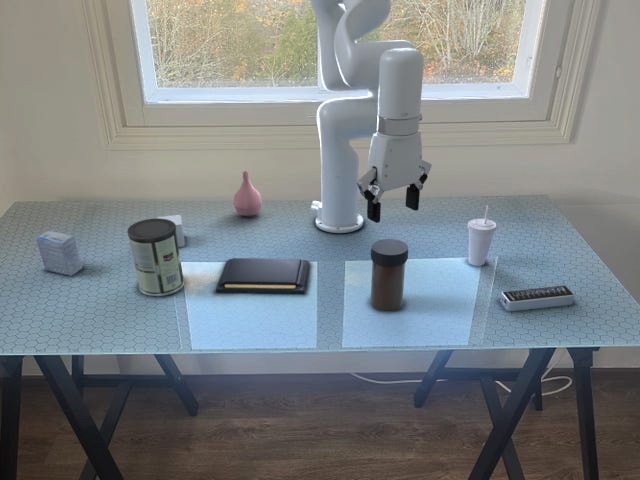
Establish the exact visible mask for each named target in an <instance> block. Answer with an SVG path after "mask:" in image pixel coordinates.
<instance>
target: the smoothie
mask: <svg viewBox="0 0 640 480" xmlns="http://www.w3.org/2000/svg"><path fill="white" fill-rule="evenodd" d="M489 208H490V205H486V206H485V213H484V218H473V219H471V220H469V221H468V223H467V229H468V263H469V264H470V265H471V266H475V267H481V266H484V265H485V264H486V260H487V256H488V254H489V251H490V247H491V244H492V240H493V237H494V234H495V232H496V231H497V226H498V225H497V223H496V222H495V221H494V220H491V219H488V215H489Z"/></svg>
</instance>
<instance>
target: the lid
mask: <svg viewBox="0 0 640 480" xmlns="http://www.w3.org/2000/svg"><path fill="white" fill-rule="evenodd" d="M408 259H409V246H408V244H407V243H406V242H405V241H402V240H399V239H395V238H384V239H377V240H376V241H374V242H373V243H372V244H371V248H370V260H371V262H372V261H373V262H374V263H375V264H378V265H380V266H386V267H395V266H400V265H402V264H404V263H405V262H406V263H407V261H408Z"/></svg>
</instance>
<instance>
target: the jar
mask: <svg viewBox="0 0 640 480" xmlns="http://www.w3.org/2000/svg"><path fill="white" fill-rule="evenodd" d="M406 263H407V261H406V262H405V263H404V264H402V265H400V266H395V267H386V266H380V265H378V264H375V263H374V262H373V261H372V260H371V283H370V306H371V307H372V308H373V309H375V310H376V311H380V312H389V313H390V312H396V311H397V310H399V309H401V308H402V307H403V302H404V291H405V290H404V288H405V278H406V277H405V275H406Z"/></svg>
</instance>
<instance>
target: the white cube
mask: <svg viewBox="0 0 640 480" xmlns="http://www.w3.org/2000/svg"><path fill="white" fill-rule="evenodd" d="M156 218H160V219H167V220H170V221H172V222H174V223H175V225H176V235H177V241H178V247H179V248H184V247H186V243H185V235H184V227H183V222H182V215H181V214H175V215H173V214H172V215H163V216H156Z"/></svg>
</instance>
